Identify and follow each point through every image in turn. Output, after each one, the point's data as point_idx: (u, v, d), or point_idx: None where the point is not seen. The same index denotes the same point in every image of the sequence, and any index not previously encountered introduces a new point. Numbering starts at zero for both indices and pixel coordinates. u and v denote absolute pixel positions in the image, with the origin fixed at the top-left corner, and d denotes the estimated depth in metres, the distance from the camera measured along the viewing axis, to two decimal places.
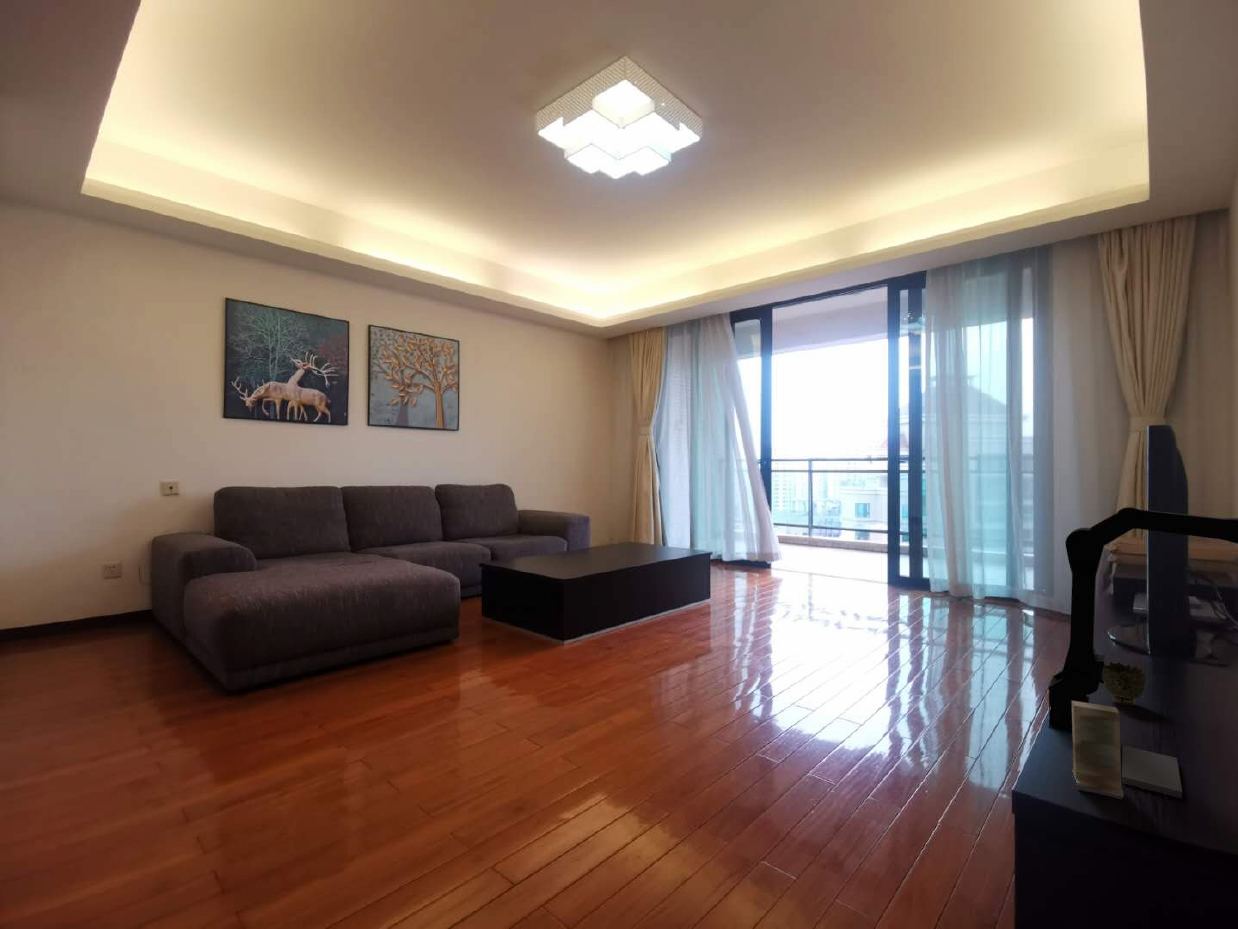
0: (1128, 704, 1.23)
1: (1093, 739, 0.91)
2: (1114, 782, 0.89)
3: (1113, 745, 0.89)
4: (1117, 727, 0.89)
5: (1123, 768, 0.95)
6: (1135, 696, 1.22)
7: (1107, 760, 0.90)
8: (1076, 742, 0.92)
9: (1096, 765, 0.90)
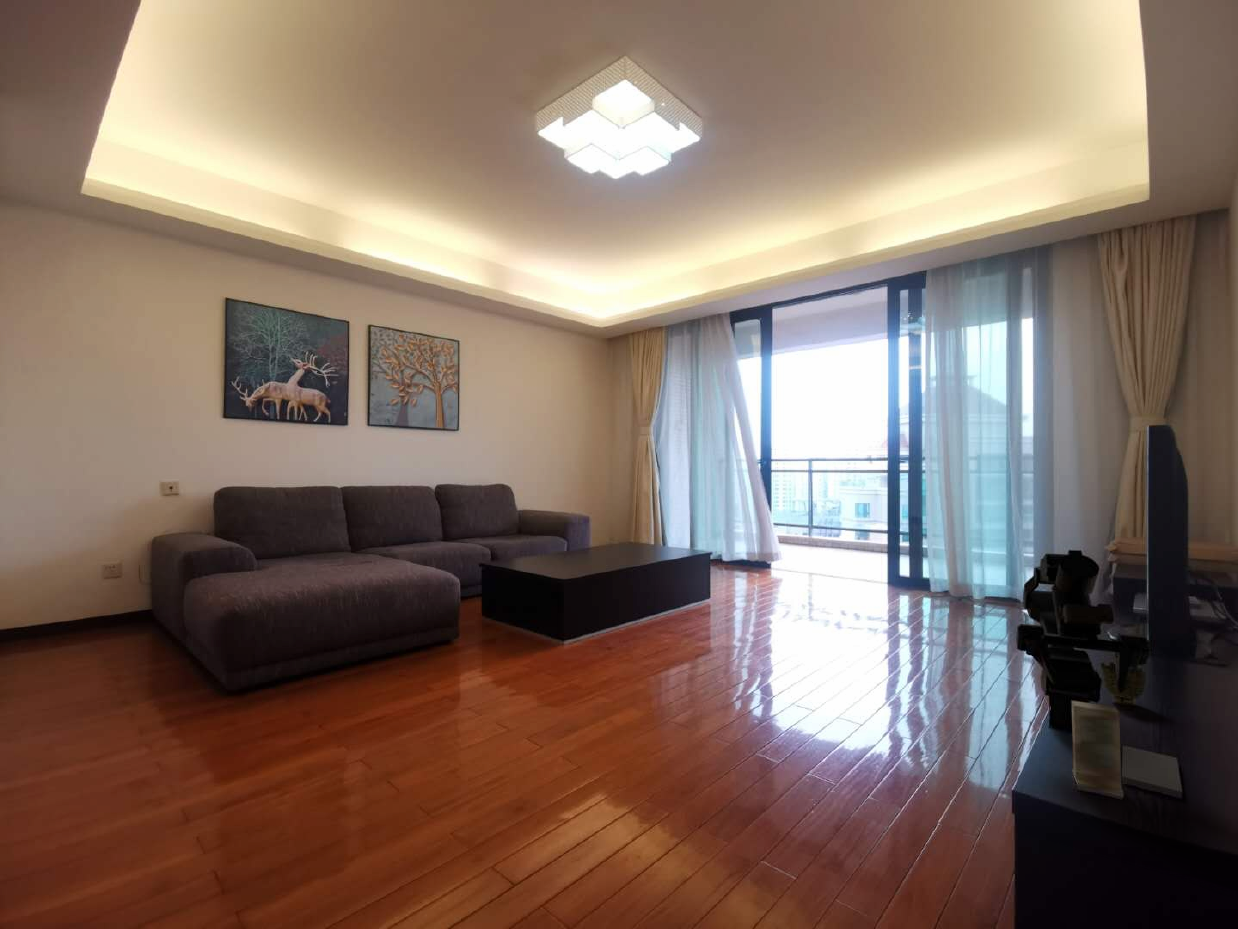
0: (1128, 704, 1.23)
1: (1093, 739, 0.91)
2: (1114, 782, 0.89)
3: (1113, 745, 0.89)
4: (1117, 727, 0.89)
5: (1123, 768, 0.95)
6: (1135, 696, 1.22)
7: (1107, 760, 0.90)
8: (1076, 742, 0.92)
9: (1096, 765, 0.90)
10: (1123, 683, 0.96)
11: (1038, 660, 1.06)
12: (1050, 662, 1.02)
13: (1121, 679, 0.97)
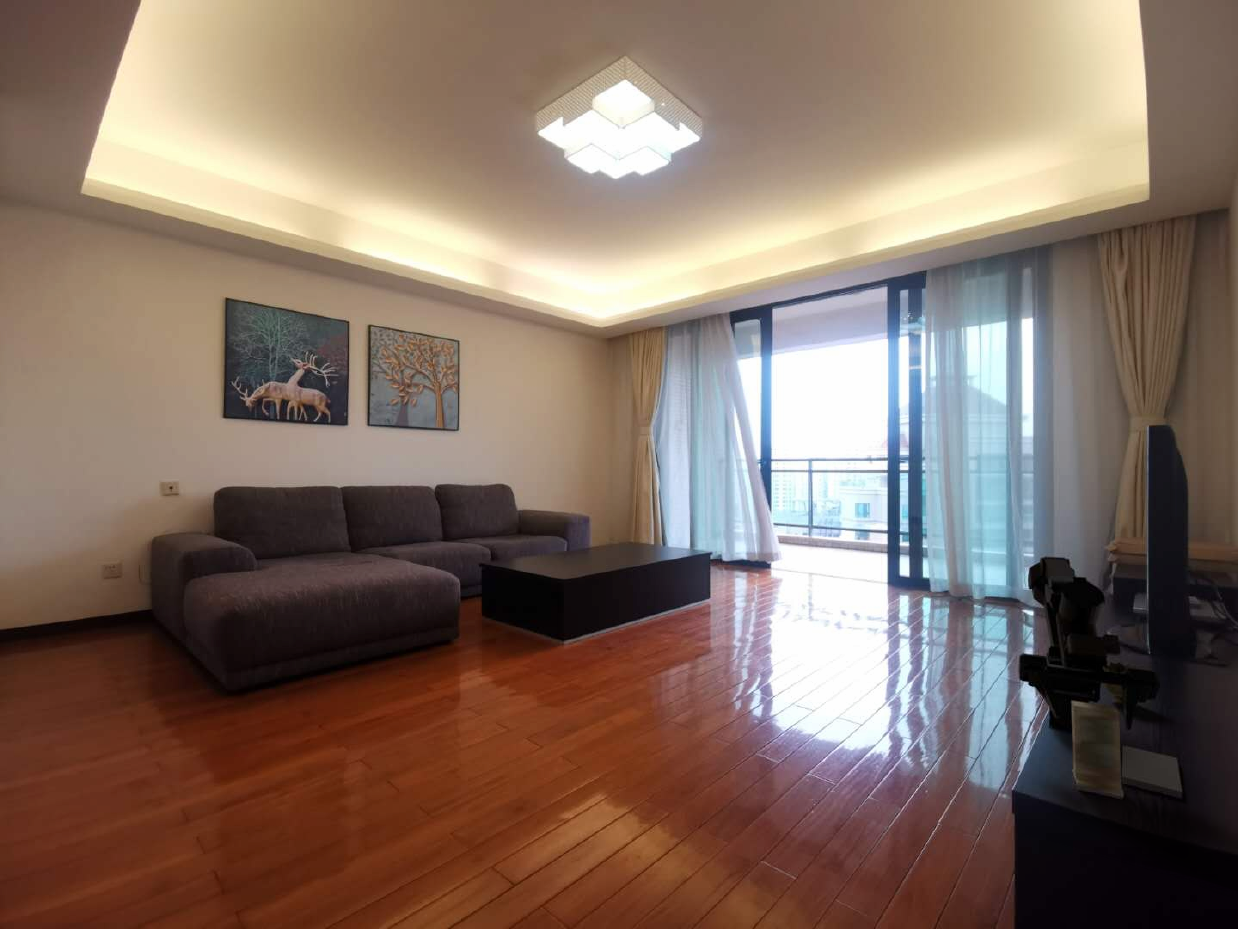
0: None
1: (1093, 739, 0.91)
2: (1114, 782, 0.89)
3: (1113, 745, 0.89)
4: (1117, 727, 0.89)
5: (1123, 768, 0.95)
6: None
7: (1107, 760, 0.90)
8: (1076, 742, 0.92)
9: (1096, 765, 0.90)
10: (1131, 719, 0.91)
11: (1041, 692, 1.01)
12: (1053, 695, 0.98)
13: (1128, 715, 0.92)
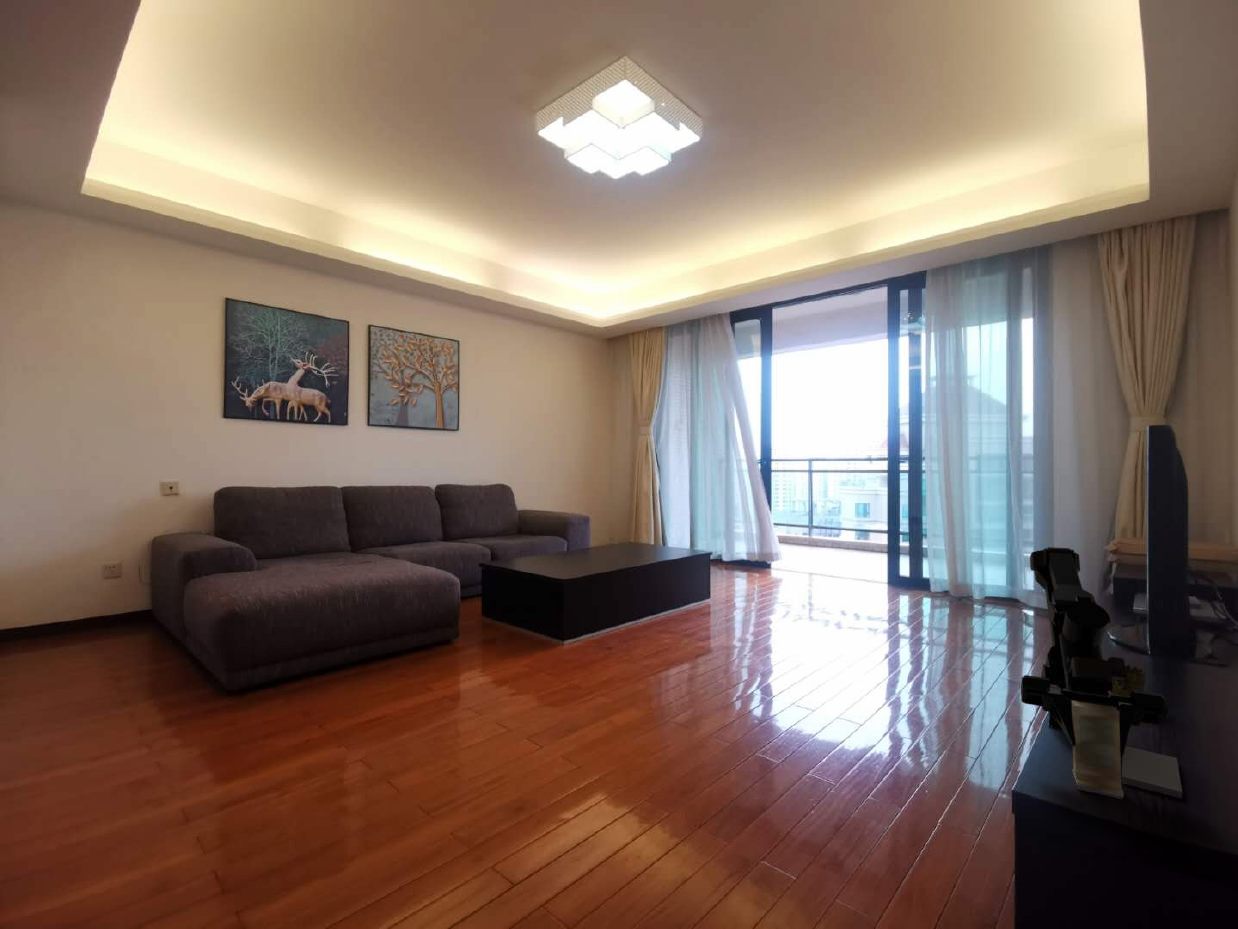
0: None
1: (1093, 739, 0.91)
2: (1114, 782, 0.89)
3: (1113, 745, 0.89)
4: (1117, 727, 0.89)
5: (1123, 768, 0.95)
6: None
7: (1107, 760, 0.90)
8: (1076, 742, 0.92)
9: (1096, 765, 0.90)
10: (1124, 744, 0.89)
11: (1056, 717, 0.97)
12: (1069, 721, 0.93)
13: (1121, 739, 0.90)
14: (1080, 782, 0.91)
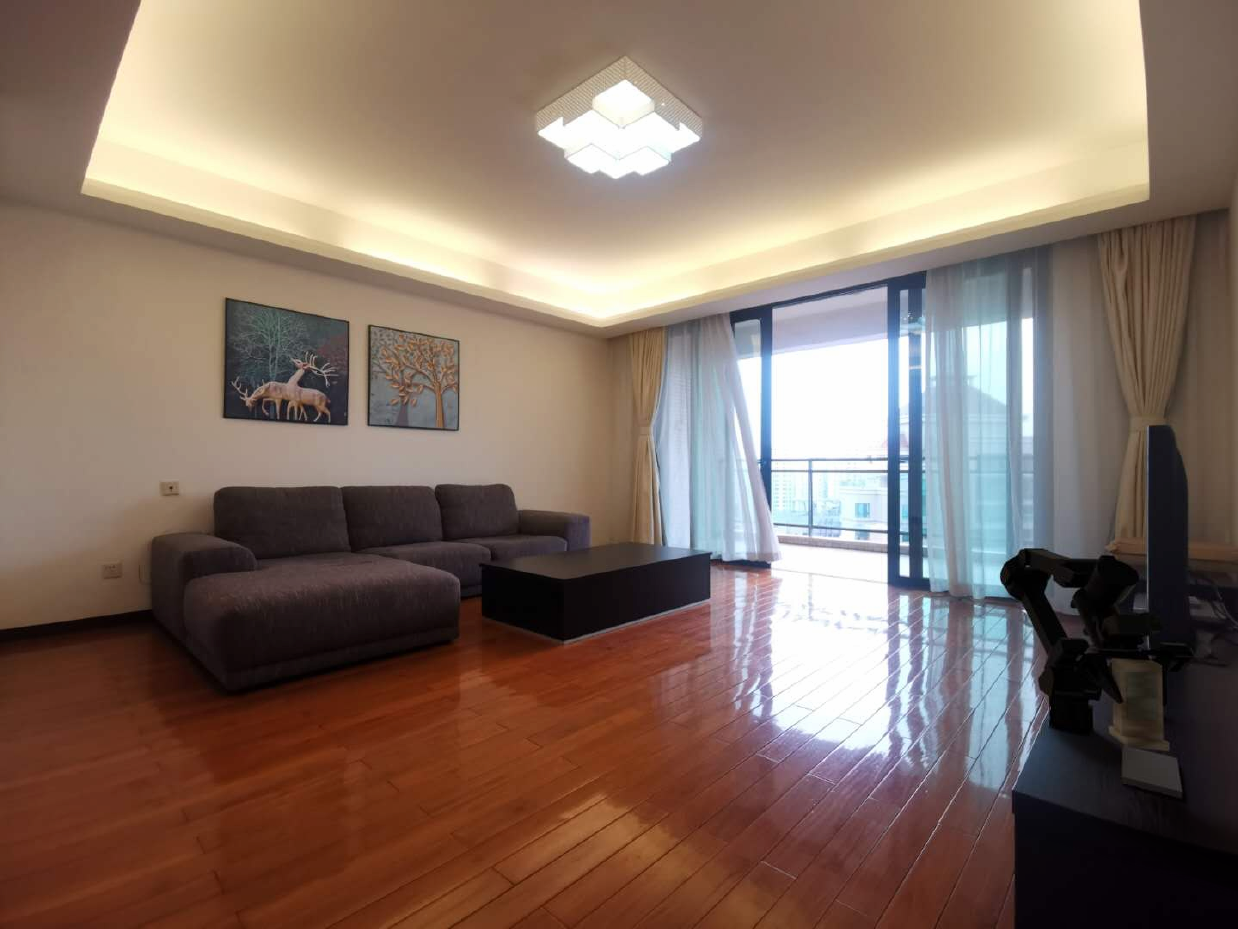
0: None
1: (1139, 694, 0.91)
2: (1157, 734, 0.91)
3: (1157, 698, 0.91)
4: (1160, 680, 0.91)
5: (1123, 768, 0.95)
6: None
7: (1152, 713, 0.91)
8: None
9: (1141, 720, 0.91)
10: (1165, 696, 0.91)
11: (1092, 677, 0.97)
12: (1112, 679, 0.94)
13: None
14: (1129, 739, 0.91)
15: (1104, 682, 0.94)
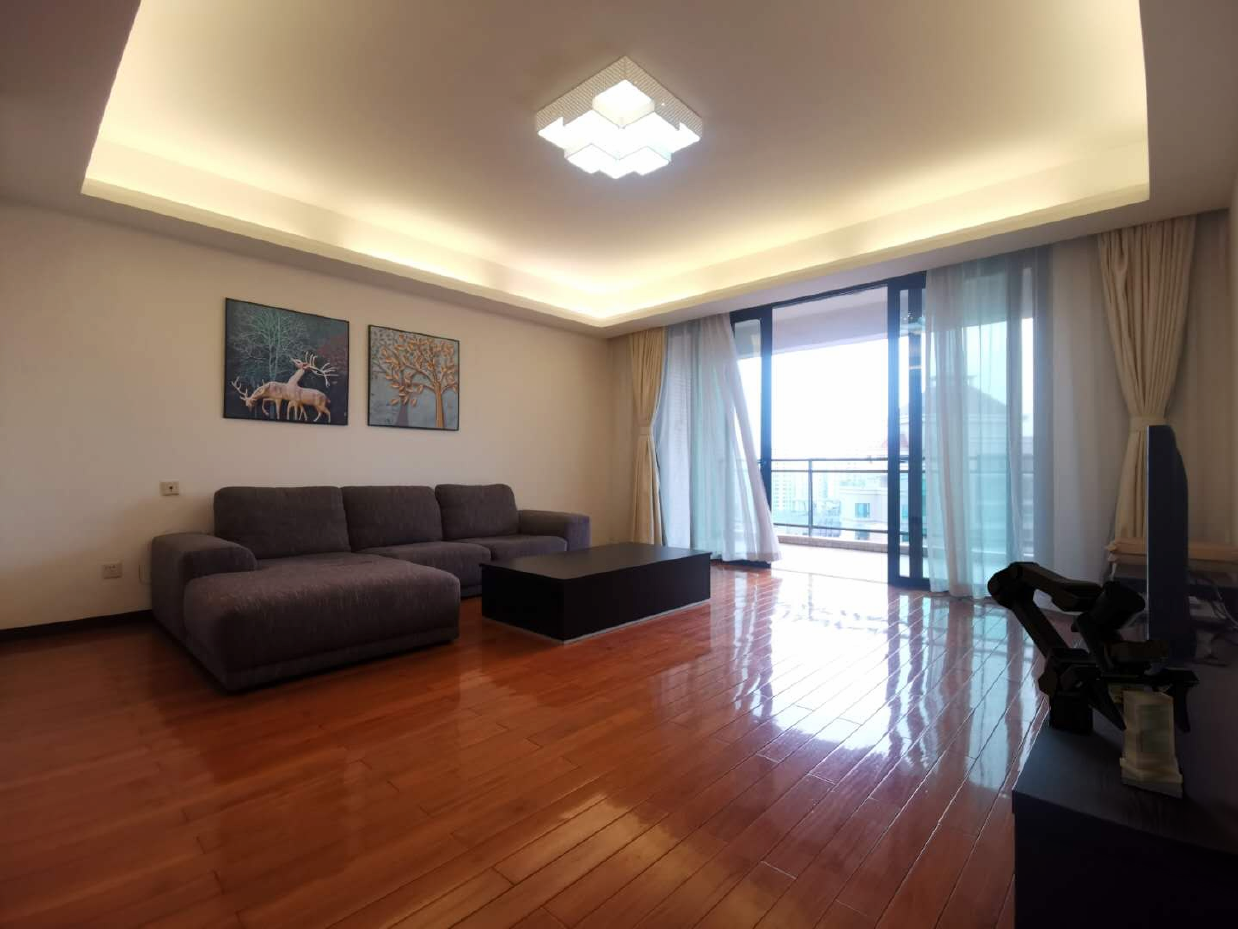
0: None
1: (1152, 727, 0.92)
2: (1169, 766, 0.92)
3: (1168, 730, 0.92)
4: (1171, 712, 0.92)
5: (1123, 768, 0.95)
6: None
7: (1164, 746, 0.92)
8: (1136, 733, 0.92)
9: (1154, 752, 0.92)
10: (1187, 723, 0.92)
11: (1092, 703, 0.97)
12: (1114, 706, 0.94)
13: (1183, 718, 0.92)
14: (1144, 772, 0.91)
15: (1106, 709, 0.95)
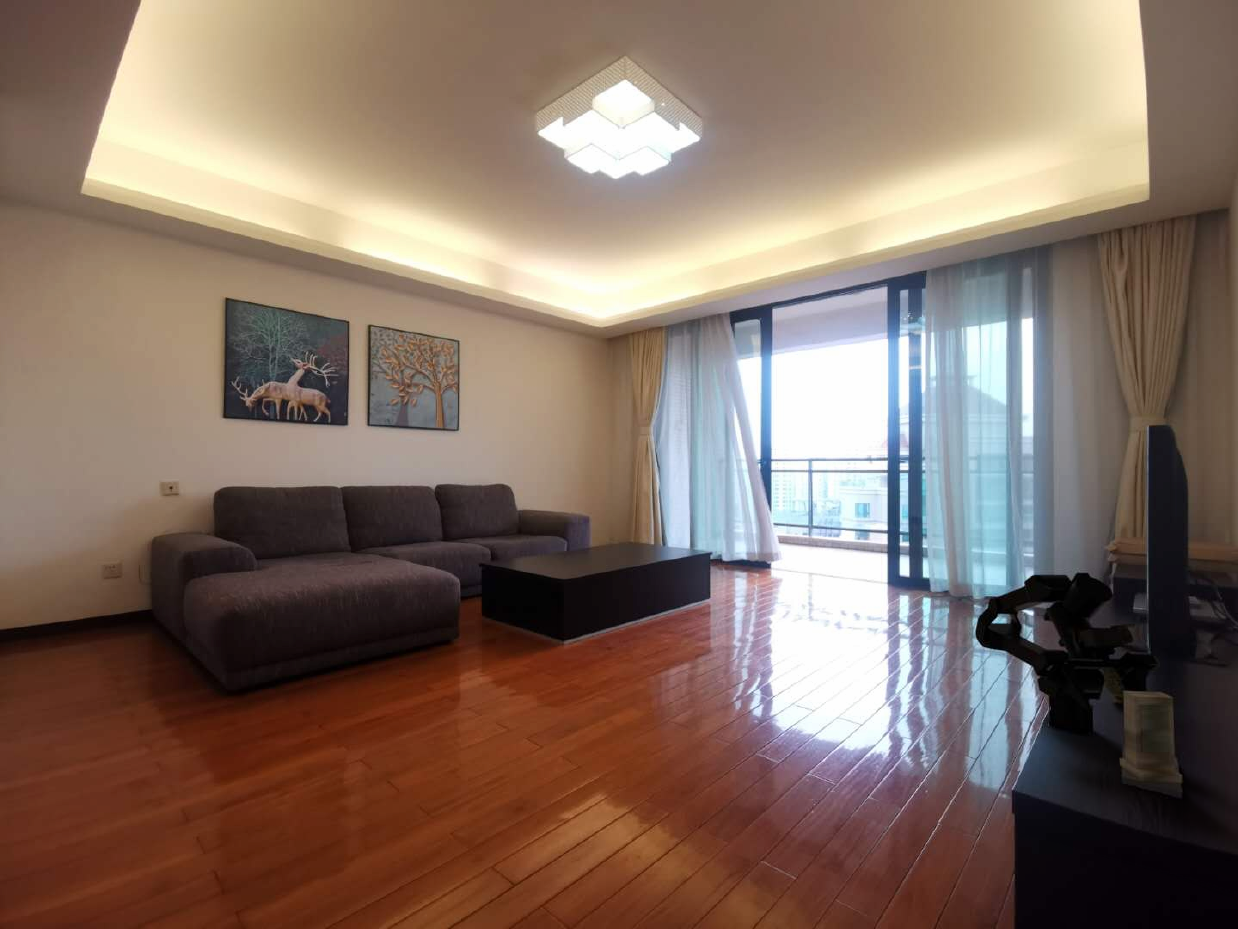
0: None
1: (1152, 727, 0.92)
2: (1169, 766, 0.92)
3: (1168, 730, 0.92)
4: (1171, 712, 0.92)
5: (1123, 768, 0.95)
6: None
7: (1164, 746, 0.92)
8: (1136, 733, 0.92)
9: (1154, 752, 0.92)
10: None
11: (1061, 685, 1.06)
12: (1080, 687, 1.02)
13: None
14: (1144, 772, 0.91)
15: (1073, 690, 1.03)
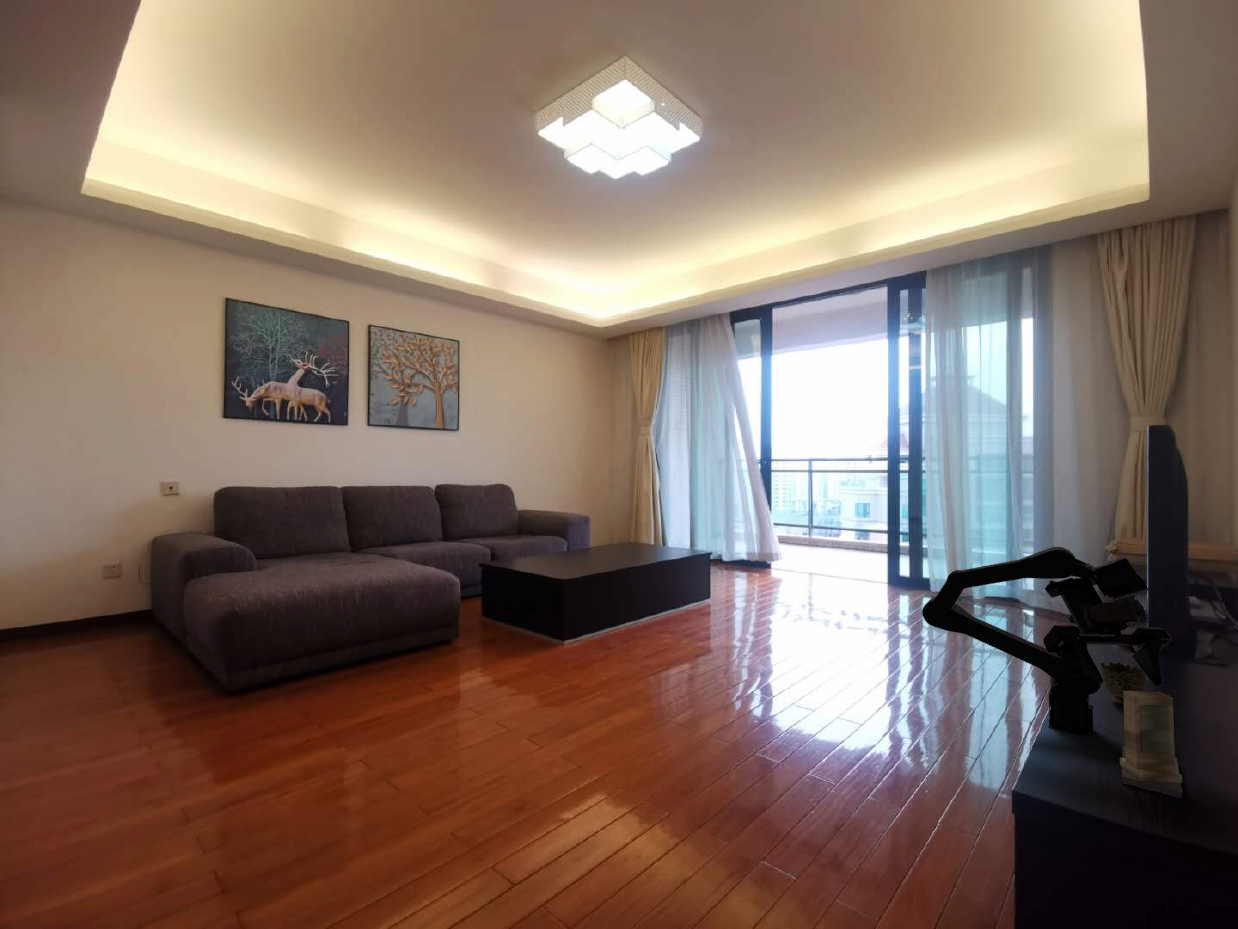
0: None
1: (1152, 727, 0.92)
2: (1169, 766, 0.92)
3: (1168, 730, 0.92)
4: (1171, 712, 0.92)
5: (1123, 768, 0.95)
6: None
7: (1164, 746, 0.92)
8: (1136, 733, 0.92)
9: (1154, 752, 0.92)
10: (1159, 676, 0.99)
11: (1073, 661, 1.05)
12: (1092, 662, 1.02)
13: (1156, 672, 1.00)
14: (1144, 772, 0.91)
15: (1085, 665, 1.03)
